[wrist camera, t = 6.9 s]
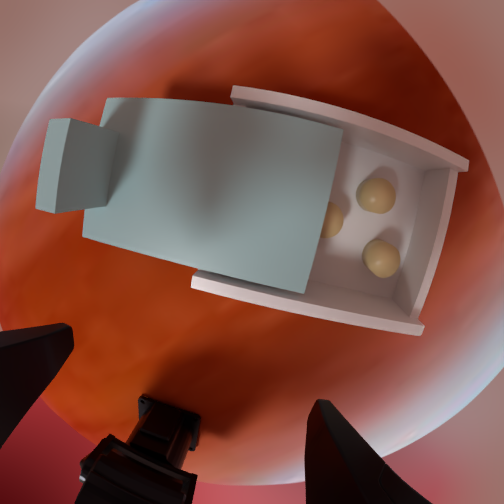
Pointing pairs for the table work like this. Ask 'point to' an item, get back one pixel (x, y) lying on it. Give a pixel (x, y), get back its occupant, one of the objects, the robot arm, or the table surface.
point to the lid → (197, 184)
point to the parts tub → (363, 222)
